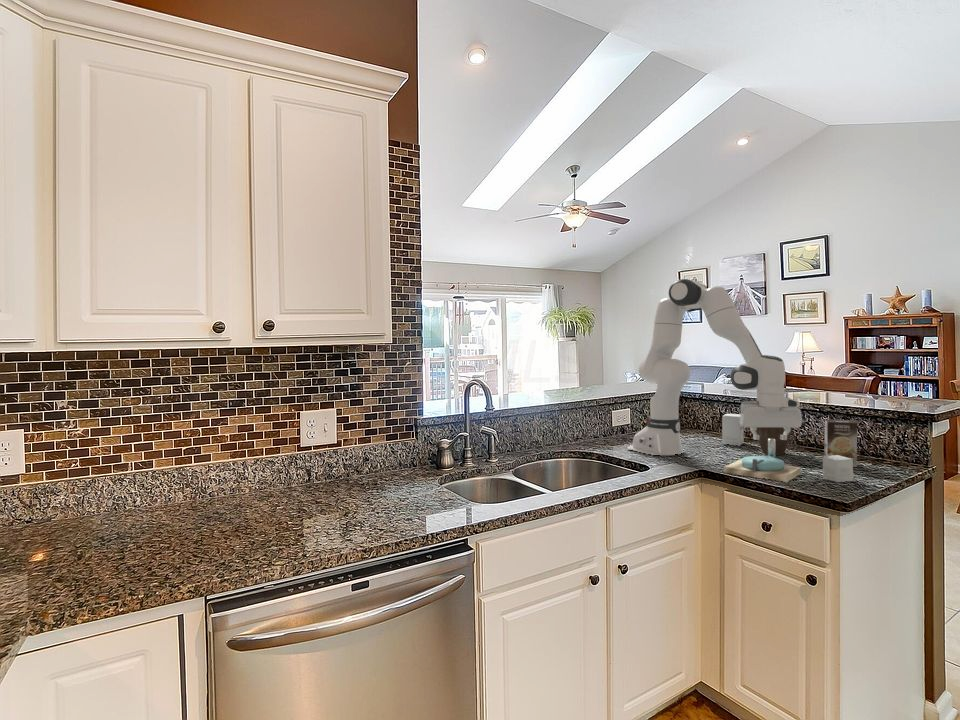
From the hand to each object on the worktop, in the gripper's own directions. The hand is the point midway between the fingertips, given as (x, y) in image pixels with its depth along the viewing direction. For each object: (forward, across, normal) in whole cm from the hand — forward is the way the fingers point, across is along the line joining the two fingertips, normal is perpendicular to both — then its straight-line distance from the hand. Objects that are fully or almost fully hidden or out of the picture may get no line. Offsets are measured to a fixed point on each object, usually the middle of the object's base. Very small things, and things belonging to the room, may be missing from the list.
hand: (769, 439), depth 193 cm
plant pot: (+10, +12, +23) cm, 28 cm away
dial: (+8, -3, -4) cm, 10 cm away
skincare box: (+10, +15, -15) cm, 24 cm away
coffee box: (+10, +26, +3) cm, 28 cm away
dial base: (+11, -5, -6) cm, 13 cm away
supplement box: (+10, +4, +42) cm, 44 cm away
